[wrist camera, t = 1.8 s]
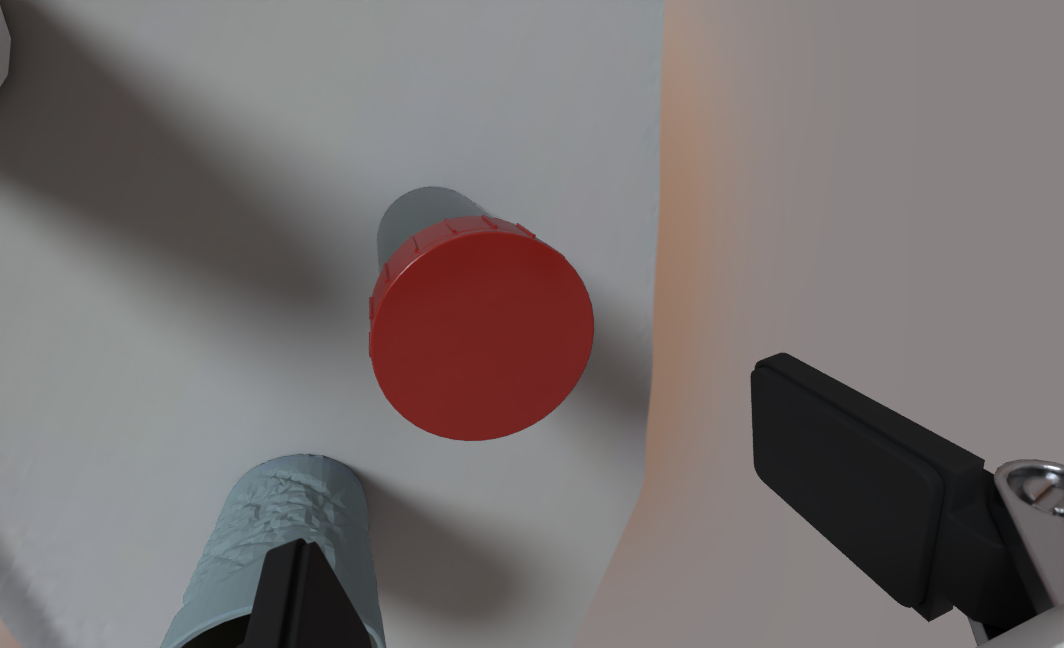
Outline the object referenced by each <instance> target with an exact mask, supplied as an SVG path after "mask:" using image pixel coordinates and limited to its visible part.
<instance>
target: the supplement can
mask: <svg viewBox="0 0 1064 648" xmlns="http://www.w3.org/2000/svg"><path fill="white" fill-rule="evenodd" d="M10 45H11V38H10V34H9V31H8V28H7V25H6V22H5V19H4V15H3V12H2V9H1V6H0V86H1V85H2V83H3V82H4V80H5V79H6V77H7V75H8V68H9V57H10Z"/></svg>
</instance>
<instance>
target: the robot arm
mask: <svg viewBox="0 0 1064 648" xmlns="http://www.w3.org/2000/svg"><path fill="white" fill-rule="evenodd" d="M751 402H752V428H753V451H754V452H753V455H754V467H755V470H756V472H757V474H758V476H759V477H760V479H761V480H762V481H763V482H764V483H765V484H766V485H767V486H769V487H770V488H771V489H772V490H773V491H774V492H775V493H776V494H778V495H779V496H780V497H781V498H782V499H783V500H784V501H785V502H786V503H788V504H789V505H790V506H791V507H792V508H793V509H794V510H795V511H796V512H798V513H799V514H800V515H801V516H802V517H803V518H804V519H805V520H806V521H808V522H809V523H810V524H811V525H812V526H813V527H814V528H815V529H816V530H818V531H819V532H820V533H821V534H822V535H823V536H824V537H826V538H827V539H828V540H829V541H830V542H831V543H832V544H833V545H834V546H835V547H837V548H838V549H839V550H840V551H841V552H842V553H843V554H844V555H846V556H847V557H848V558H849V559H850V560H851V561H852V562H853V563H854V564H856V565H857V566H858V567H859V568H860V569H861V570H862V571H863V572H864V573H865V574H867V575H868V576H869V577H870V578H871V579H872V580H873V581H874V582H875V583H877V584H878V585H879V586H880V587H881V588H882V589H883V590H884V591H886V592H887V593H888V594H889V595H890V596H891V597H892V598H894V600H896V601H897V602H898V603H900V604H901V605H903V606H905V607H908V608H911V607H912V608H913V609H914V610H916V611H917V612H918V613H919V614H920V615H921V616H922V617H924V618H925V619H926V620H927V621H928V622H930V621H931V620H934V619H935V618H937V617H939V616H941V615H943V614H945V613H947V612H949V611H950V610H952V609H953V605H954V606H955V607H957V608H958V609H959V610H960V611H962V612H963V613H964V614H965V615H966V616H967V617H968V620H969V622H970V625H971V628H972V631H973V634H974V637H975V640H976V643H977V646H978V647H976V648H1064V465H1062V464H1059V463H1055V462H1049V461H1043V460H1016V461H1011V462H1006V463H1005V464H1003V465H1002V466H1000V467H998V468H997V470H996V472H995V474H992V473H990V472H989V471H987V470H985V469H983V467H984V462H985V460H984V459H982V458H980V457H978V456H976V455H974V454H972V453H970V452H969V451H967V450H965V449H963V448H961V447H959V446H957V445H956V444H954V443H952V442H950V441H948V440H947V439H945V438H943V437H941V436H939V435H937V434H935V433H934V432H932V431H930V430H928V429H926V428H924V427H922V426H921V425H919V424H917V423H915V422H913V421H911V420H910V419H908V418H906V417H904V416H902V415H900V414H898V413H897V412H895V411H893V410H891V409H889V408H887V407H885V406H883V405H882V404H880V403H878V402H876V401H874V400H872V399H870V398H869V397H867V396H865V395H863V394H861V393H859V392H858V391H856V390H854V389H852V388H850V387H848V386H847V385H845V384H843V383H841V382H839V381H837V380H835V379H834V378H832V377H830V376H828V375H826V374H824V373H822V372H821V371H819V370H817V369H815V368H813V367H811V366H810V365H807V364H806V363H804V362H802V361H800V360H798V359H796V358H795V357H793V356H791V355H789V354H787V353H779V354H776V355H773V356H771V357H768V358H765V359H763V360H760V361H758V362H757V363H756V365H755V370H754V371H752V373H751ZM236 648H372V645H371V640H370V636H369V633H368V631H367V629H366V627H365V626H364V624H363V622H362V620H361V619H360V617H359V615H358V613H357V612H356V610H355V608H354V606H353V604H352V603H351V601H350V599H349V597H348V596H347V594H346V592H345V590H344V589H343V587H342V585H341V583H340V582H339V580H338V578H337V576H336V575H335V573H334V571H333V569H332V568H331V566H330V564H329V562H328V560H327V559H326V557H325V555H324V553H323V552H322V550H321V548H320V546H319V545H318V544H317V543H316V542H315V541H314V542H311V543H308V544H307V542H306V541H305V540H304V539H303V538H299V539H296V540H293V541H291V542H288V543H286V544H283V545H280V546H278V547H275V548H273V549H270V550H269V551H268V552H267V553H266V555H265V558H264V562H263V566H262V570H261V575H260V579H259V583H258V587H257V591H256V595H255V599H254V603H253V607H252V612H251V616H250V620H249V624H248V628H247V632H246V636H245V640H244V643H243V644H241V645H238V646H237V647H236Z"/></svg>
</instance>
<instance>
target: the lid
mask: <svg viewBox="0 0 1064 648" xmlns="http://www.w3.org/2000/svg"><path fill="white" fill-rule="evenodd" d="M535 236H536V235H534V234H533V233H531V232H530V231H529V230H527V229H526V228H524V227H523V226H521V225H520V224H518V223H517V224H516V225H515V224H512V223H510V222H508V221H504V220H501V219H497V218H491V217H487V216H486V215H483V214H482V216H466V217H458V218H452V219H449V220H448V219H447V218H445V219H444V221H441V222H439V223H436V224H434V225H431V226H429V227H427V228H425V229H423V230H422V231H420V232H418V233H416V234H415V235H414V236H412V235H411V236H409V238H410V239H408V240H407V241H406V242H404V243H403V244H402V245H401V246H400V247H399V248H398V249H397V250H396V251H395V252H394V254H393V255H392V256H391V258H390V259H389V260H388V262H387V263H384V264H383V270H382V271H381V273H380V275H379V277H378V280H377V282H376V285H375V288H374V291H373V295H372V297H370V298H369V319H370V332H369V356H370V358H371V360H372V365H373V369H374V373H375V376H376V379H377V381H378V384H379V386H380V388H381V390H382V391H383V393H384V395H385V397H386V398H387V400H388V401H389V402H390V403H391V405H392V406H393V407H394V408H395V409H396V410H397V411H398V412H399V413H400V414H401V415H402V416H403V417H404V418H405V419H407V420H408V421H410V422H411V423H413V424H414V425H415V426H417V427H419V428H421V429H423V430H425V431H427V432H429V433H432V434H435V435H438V436H440V437H445V438H449V439H454V440H464V441H481V440H489V439H496V438H500V437H504V436H508V435H510V434H513V433H516V432H519V431H521V430H523V429H525V428H527V427H529V426H531V425H533V424H535V423H536V422H538V421H540V420H541V419H543V418H544V417H545V416H547V415H548V414H549V413H551V412H552V411H553V410H554V409H555V408H556V407H557V406H559V405H560V404H561V403H562V402H563V401H564V399H565V398H566V397H567V396H568V395H569V394H570V392H571V391H572V390H573V388H574V387H575V385H576V384H577V382H578V381H579V379H580V377H581V375H582V373H583V371H584V369H585V367H586V364H587V362H588V359H589V356H590V352H591V348H592V344H593V335H594V317H593V311H592V305H591V301H590V298H589V295H588V292H587V290H586V287H585V285H584V283H583V281H582V279H581V278H580V276H579V275H578V273H577V272H576V270H575V269H574V268H573V267H572V266H571V265H570V263H569V262H568V261H567V260H566V259H565V257H564V256H563V255H562V254H561V253H559V252H558V251H556V250H555V249H553V248H552V247H551V246H549V245H548V244H546V243H544V242H542V241H541V240H540V239H538V238H537V237H535Z"/></svg>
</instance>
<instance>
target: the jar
mask: <svg viewBox="0 0 1064 648" xmlns="http://www.w3.org/2000/svg"><path fill="white" fill-rule="evenodd" d="M482 214H483V215H486V216H487V217H490V216H489V215H488V214H487V213H485V212H484V211H483V210H482V209H480V208H479V207H478V206H477V205H475V204H474V203H473V202H472V201H470V200H469V199H468V198H467V197H465V196H463V195H462V194H460V193H458V192H456V191H454V190H450V189H447V188H442V187H423V188H419V189H415V190H413V191H410V192H408V193H406V194H404V195H402V196H401V197H400V198H398V199H397V200H396V201H395V202H394V203H393V204H392V205H391V206H390V207H389V208H388V210H387V211H386V212H385V214H384V216H383V218H382V220H381V223H380V225H379V229H378V234H377V249H378V262H379V275H380V273H381V271H382V270H383V264H384V263H387V262H388V260H389V259H390V258H391V256H392V255H393V254H394V252H395V251H396V250H397V249H398V248H399V247H400V246H401V245H402V244H403V243H404V242H406V241H407V240H408V239H410V238H409V236H411V235H412V236H414V235H415V234H416V233H418V232H420V231H422V230H423V229H425V228H427V227H429V226H431V225H434V224H436V223H439V222H441V221H444V219H445V218H447V219H448V220H449V219H452V218H458V217H466V216H482ZM491 218H492V217H491Z"/></svg>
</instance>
